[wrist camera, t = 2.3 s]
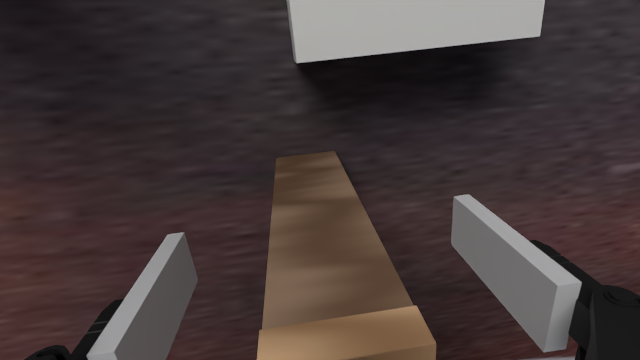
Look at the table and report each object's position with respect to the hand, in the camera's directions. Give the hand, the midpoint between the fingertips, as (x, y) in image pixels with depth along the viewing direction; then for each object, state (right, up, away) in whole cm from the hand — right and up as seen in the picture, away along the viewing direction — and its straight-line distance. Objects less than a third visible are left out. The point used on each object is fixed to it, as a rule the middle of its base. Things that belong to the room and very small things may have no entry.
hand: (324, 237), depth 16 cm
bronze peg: (-1, +3, +7) cm, 8 cm away
